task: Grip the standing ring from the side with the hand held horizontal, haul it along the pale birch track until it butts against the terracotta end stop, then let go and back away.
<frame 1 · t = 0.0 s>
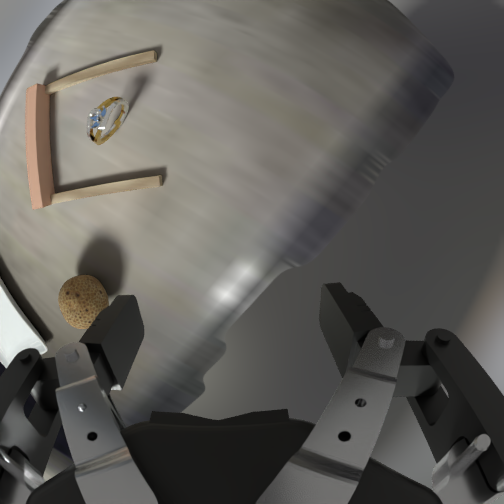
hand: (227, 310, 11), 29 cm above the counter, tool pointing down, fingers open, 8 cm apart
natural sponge: (97, 287, 43), on the counter
square plate: (0, 312, 45), on the counter
end stop: (45, 144, 34), on the counter
birch track: (97, 128, 34), on the counter
ring: (120, 123, 34), on the counter
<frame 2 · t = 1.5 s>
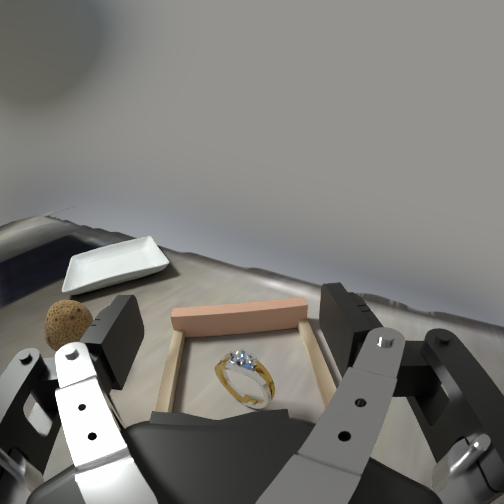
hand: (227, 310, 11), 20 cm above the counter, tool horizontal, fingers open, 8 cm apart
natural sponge: (82, 356, 36), on the counter
square plate: (115, 271, 68), on the counter
end stop: (240, 328, 43), on the counter
birch track: (244, 379, 32), on the counter
ring: (246, 404, 29), on the counter
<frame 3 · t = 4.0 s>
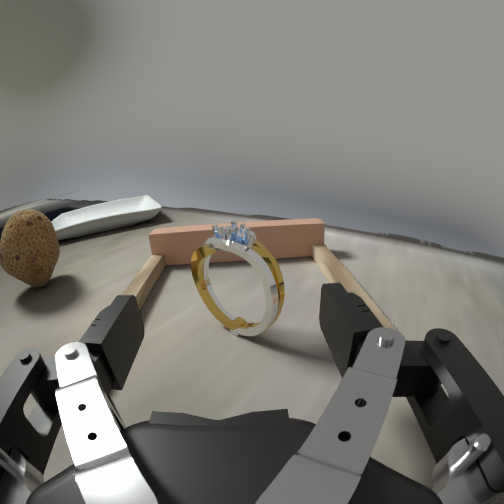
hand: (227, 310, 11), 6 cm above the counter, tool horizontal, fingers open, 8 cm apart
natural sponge: (39, 287, 28), on the counter
square plate: (103, 224, 60), on the counter
end stop: (238, 257, 34), on the counter
birch track: (238, 304, 24), on the counter
ring: (238, 334, 20), on the counter
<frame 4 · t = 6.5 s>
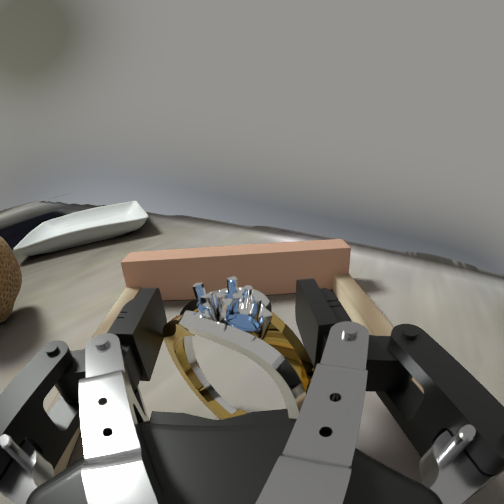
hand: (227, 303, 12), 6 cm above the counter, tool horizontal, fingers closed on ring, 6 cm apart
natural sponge: (1, 321, 20), on the counter
square plate: (86, 235, 52), on the counter
end stop: (237, 290, 26), on the counter
birch track: (238, 375, 16), on the counter
ring: (239, 429, 12), on the counter, touching gripper
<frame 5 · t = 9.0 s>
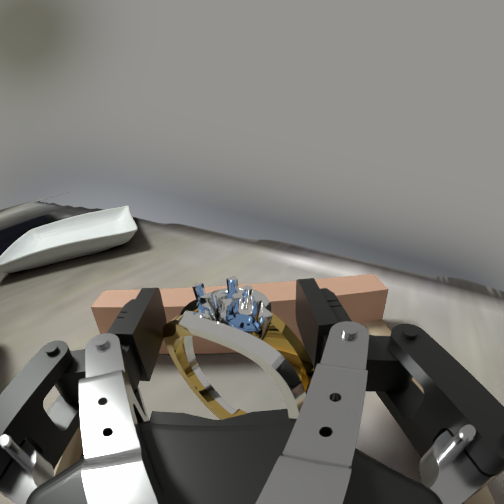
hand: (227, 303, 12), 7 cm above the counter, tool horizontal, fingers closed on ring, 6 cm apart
square plate: (72, 246, 46), on the counter
end stop: (240, 341, 20), on the counter
birch track: (245, 481, 9), on the counter
ring: (239, 429, 12), on the counter, touching gripper
when the fingers open (6 cm above the counter, at t = 11.7 s): ring stays where it is, on the counter.
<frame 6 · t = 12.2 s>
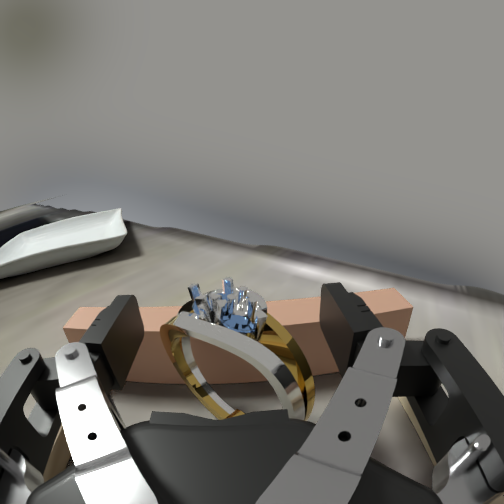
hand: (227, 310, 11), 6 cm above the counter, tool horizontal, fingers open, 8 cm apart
square plate: (61, 251, 42), on the counter
end stop: (238, 368, 16), on the counter
ring: (238, 429, 12), on the counter
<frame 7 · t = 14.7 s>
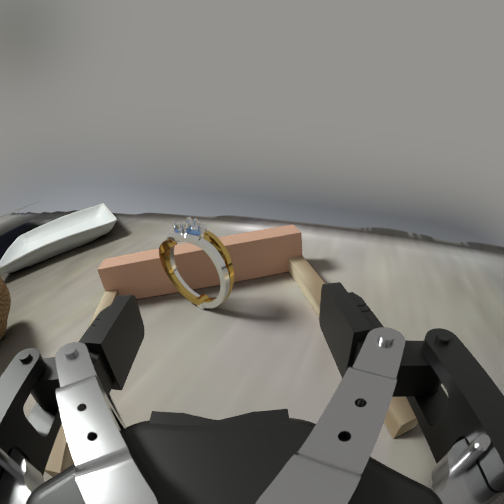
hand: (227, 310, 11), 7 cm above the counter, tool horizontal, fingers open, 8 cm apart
square plate: (60, 244, 51), on the counter
end stop: (203, 281, 28), on the counter
birch track: (208, 356, 18), on the counter
ring: (204, 308, 24), on the counter
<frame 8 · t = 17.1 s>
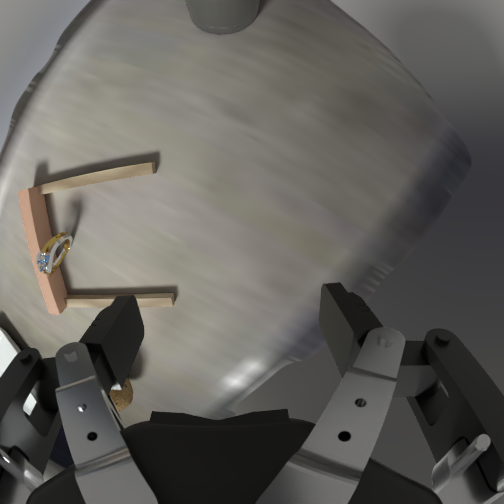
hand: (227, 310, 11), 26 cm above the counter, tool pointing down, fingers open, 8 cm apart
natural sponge: (118, 371, 46), on the counter
square plate: (21, 373, 48), on the counter
end stop: (49, 247, 36), on the counter
birch track: (101, 241, 37), on the counter
ring: (69, 245, 37), on the counter
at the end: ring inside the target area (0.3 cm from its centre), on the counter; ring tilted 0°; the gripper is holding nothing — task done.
